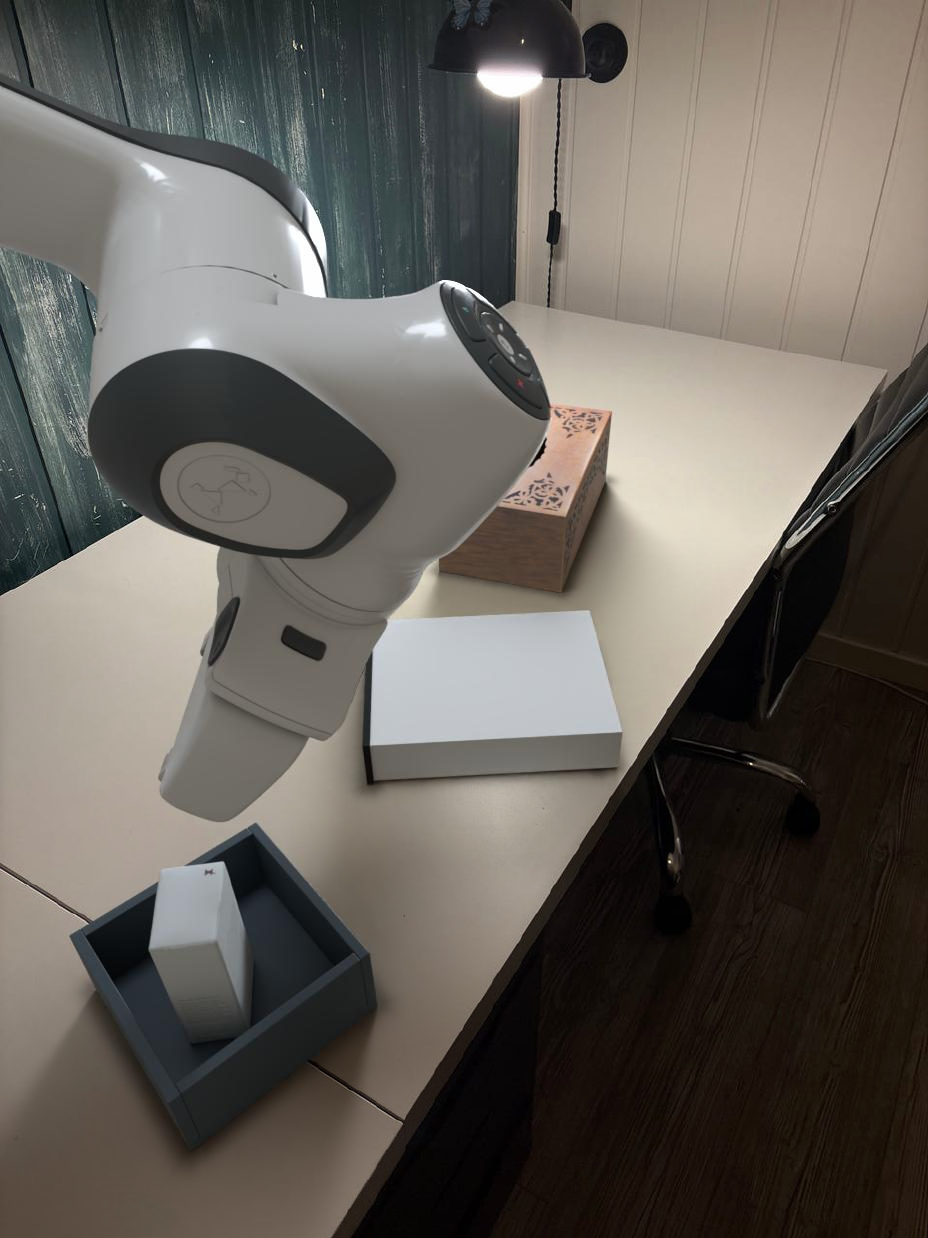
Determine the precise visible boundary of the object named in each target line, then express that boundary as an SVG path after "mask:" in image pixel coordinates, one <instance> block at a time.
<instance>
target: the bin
mask: <svg viewBox="0 0 928 1238" xmlns="http://www.w3.org/2000/svg"><path fill="white" fill-rule="evenodd" d="M215 862H224V864H225V866H226V869H227V872H228V875H229V878H230V882H231V886H232V889H233V892H234V895H235V898H236V901H237V905H238V908H239V911H240V915H241V918H242V921H243V925H244V927H245V930H246V934H247V937H248V940H249V944H250V947H251V950H252V953H253V956H254V970H253V988H252V1004H251V1022H250V1029H249V1030H248V1031H246V1032H245V1033H244V1034H242V1035H241V1036H239V1037H238V1038H231V1039H223V1040H216V1041H209V1042H202V1043H195V1044H192V1043H189V1041H188V1039H187V1036H186V1034H185V1032H184V1030H183V1027H182V1025H181V1023H180V1020H179V1018H178V1016H177V1014H176V1011H175V1009H174V1007H173V1005H172V1002H171V1000H170V998H169V995H168V993H167V991H166V989H165V986H164V984H163V982H162V979H161V977H160V975H159V972H158V970H157V968H156V965H155V963H154V961H153V959H152V956H151V954H150V952H149V944H150V937H151V930H152V924H153V916H154V908H155V901H156V894H157V887H158V881H157V882H155V883H153V884H152V885H150V886H149V887H147V888H145V889H143V890H142V891H140V892H138V893H137V894H135V895H134V896H132V897H130V898H129V899H127V900H125V901H124V902H122V903H121V904H118V905H117V906H115V907H113V908H112V909H110V910H109V911H107V912H106V913H104V914H102V915H100V916H99V917H97V918H96V919H94V920H93V921H91V922H90V923H88V924H86V925H84V926H82V927H81V928H79V929H77V930H76V931H74V932H73V933H71V934H70V935H68V936H69V938H70V940H71V943H72V945H73V947H74V950H75V951H76V952H77V955H78V956H79V958H80V960H81V962H82V964H83V967H84V969H85V970H86V972H87V974H88V976H89V979H90V980H91V982H92V984H93V986H94V988H95V990H96V992H97V994H98V995H99V997H100V998H101V1000H102V1002H103V1004H104V1005H105V1007H106V1009H107V1011H108V1012H109V1014H110V1016H111V1018H112V1019H113V1020H114V1022H115V1024H116V1026H117V1028H118V1029H119V1031H120V1032H121V1034H122V1037H123V1038H124V1040H125V1042H126V1043H127V1045H128V1046H129V1048H130V1050H131V1051H132V1053H133V1055H134V1057H135V1058H136V1060H137V1062H138V1063H139V1065H140V1067H141V1069H142V1070H143V1072H144V1074H145V1075H146V1077H147V1079H148V1081H149V1082H150V1084H151V1085H152V1087H153V1089H154V1090H155V1092H156V1094H157V1096H158V1097H159V1099H160V1101H161V1103H162V1104H163V1106H164V1108H165V1110H166V1111H167V1113H168V1115H169V1116H170V1118H171V1120H172V1122H173V1123H174V1125H175V1127H176V1128H177V1130H178V1132H179V1133H180V1135H181V1137H182V1139H183V1140H184V1142H185V1144H186V1145H187V1147H188V1149H189V1151H190V1152H193V1151H194V1150H196V1149H197V1148H199V1146H201V1145H202V1144H204V1143H205V1142H206V1141H207V1140H209V1139H210V1138H211V1137H212V1136H214V1135H215V1134H216V1133H217V1132H219V1131H220V1130H221V1129H222V1128H224V1127H225V1126H226V1125H228V1124H229V1123H230V1122H231V1121H232V1120H234V1119H235V1118H236V1117H238V1116H239V1115H241V1113H243V1112H245V1110H247V1109H248V1108H249V1107H250V1106H252V1105H253V1104H255V1103H256V1102H257V1101H258V1100H259V1099H261V1098H263V1096H265V1095H266V1094H268V1092H270V1091H271V1090H272V1089H274V1088H275V1087H276V1086H277V1085H279V1084H280V1083H281V1082H282V1081H284V1080H285V1079H286V1078H288V1077H289V1076H290V1075H291V1074H293V1073H294V1072H295V1071H296V1070H298V1069H299V1068H300V1067H302V1066H303V1065H304V1064H306V1062H308V1061H309V1060H310V1059H312V1058H313V1057H315V1055H317V1054H318V1053H319V1052H321V1051H322V1050H323V1049H325V1048H326V1047H327V1046H328V1045H329V1044H331V1043H332V1042H334V1041H335V1040H336V1039H337V1038H339V1037H340V1036H341V1035H342V1034H344V1033H345V1032H346V1031H347V1030H349V1029H351V1027H353V1026H354V1025H355V1024H356V1023H358V1022H359V1021H360V1020H362V1019H363V1018H365V1016H366V1015H368V1014H369V1013H370V1012H372V1011H373V1010H375V1009H376V1008H377V1007H378V1000H377V994H376V988H375V987H376V986H375V979H374V971H373V965H372V959H371V953H370V951H369V950H368V949H367V948H366V947H365V946H364V944H362V942H361V941H360V940H359V939H358V938H357V936H356V935H355V934H354V933H353V932H352V931H351V929H350V928H349V927H348V926H347V925H346V924H345V923H344V921H343V920H342V919H341V918H340V917H339V915H337V913H336V912H335V911H334V909H332V907H331V906H330V905H329V903H327V902H326V900H325V899H323V897H322V896H321V895H320V894H319V893H318V891H317V890H316V889H315V888H314V887H313V886H312V885H311V883H310V882H309V881H308V880H307V879H306V878H305V877H304V875H303V874H302V872H300V871H299V869H298V868H297V867H296V866H295V865H294V864H293V862H292V861H291V860H290V859H289V858H288V857H287V856H286V854H285V853H284V852H283V851H282V850H281V849H280V848H279V847H278V845H277V844H276V842H274V841H273V840H272V838H271V837H270V836H269V835H268V833H266V831H264V828H262V827H261V826H260V825H259V823H258V822H254V823H252V824H251V825H249V826H247V827H246V828H244V829H242V830H241V831H239V832H237V833H236V834H234V835H232V836H231V837H229V838H227V839H226V840H224V841H222V842H221V843H219V844H218V845H215V846H214V847H213V848H211V849H209V850H208V851H206V852H204V853H203V854H201V855H200V856H197V857H196V858H195V859H193V860H191V861H189V862H188V863H186V864H185V865H184V866H190V865H199V864H207V863H215Z"/></svg>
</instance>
